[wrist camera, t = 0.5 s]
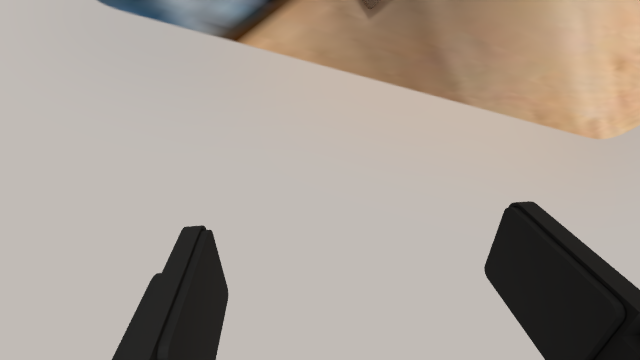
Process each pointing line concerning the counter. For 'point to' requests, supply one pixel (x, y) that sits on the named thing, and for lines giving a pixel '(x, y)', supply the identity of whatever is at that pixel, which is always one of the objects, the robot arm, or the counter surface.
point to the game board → (370, 3)
